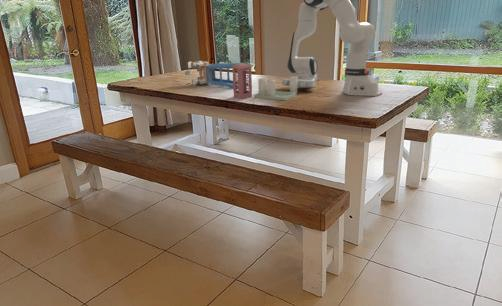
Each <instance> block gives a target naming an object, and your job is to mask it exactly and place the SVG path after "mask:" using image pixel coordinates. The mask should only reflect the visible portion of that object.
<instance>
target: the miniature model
mask: <svg viewBox="0 0 502 306" xmlns="http://www.w3.org/2000/svg"><path fill="white" fill-rule="evenodd" d="M239 63H240V64H235V65H233V66H232V67H231V68H232V81H233V88H232V89H233V97H234V98H237V99H239V100H243V99H249V98H253V84H252V68H253V67H252V65H250V64H249V63H248V64H244V63H245V62H239ZM237 82H238V85H237ZM247 84H249V85H247ZM237 87H238V89H237Z"/></svg>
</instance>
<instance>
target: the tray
mask: <svg viewBox="0 0 502 306" xmlns="http://www.w3.org/2000/svg"><path fill="white" fill-rule="evenodd" d="M294 97H297V93H295V92H290V91H279V90H275V96H265V95H259V92H257V93H256V94H253V98H254V99H266V100H278V101H288V100H290V99H292V98H294Z"/></svg>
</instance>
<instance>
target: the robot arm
mask: <svg viewBox="0 0 502 306" xmlns="http://www.w3.org/2000/svg"><path fill="white" fill-rule="evenodd" d="M328 8H329V9H330V10H331V12H332V14H333V15H334V18H336V20H337V23H338V25H339V29H340V31H339V38H340V40H341V41H342V43H344V44H349V45H350V48H349V49H348V51H347V53H346V61H345V64H346V65H345V67H344V69H345V70H344V84H343V87H342V88H343V89H342V91H341V92H342V94H347V96H364V97H365V96H366V97H367V96H369V97H376V96H380V95H382V94H383V90H382V89H379V84H378V81H377V80H376V79H375V78H373V77H372V76H371V75H370V69H369V68H367V56H368V50H369V47H370V43H371V41H372V39H373V38H374V36H375V33H376V29H375V26H374V25H373V24H372V23H369V22H367V21H363V22H360V21H358V20H357V19H358V18H357V16H356V12H357V11H356V8H355V7H354V4H353V3H352V2H351V0H303V2H302V3H301V4H300V6H299V8H298V9H299V10H298V20H297V21H298V22H297V23H298V24H297V28H296V29H295V30H294V32H293V33H292V37H291V44H290V51H289V58H288V60H287V69H288V71H289V72H290V73H291V74H297V73H300V74H297V75H296V76H297V77H298V82H297V88H298V89H306V88H314V87H315V88H316V81H317V80H318V73H317V72H318V61H317V60H316V59H315V58H314V56H298V53H299V47H300V43H301V41H303V40H304V39H306V38H308V37H311V36H312V35H313V34H314V33H315V32H316V30H317V20H318V19H317V14H318V11H323V10H325V9H328ZM281 85H282V86H286V87H287V86H289V87H290V77H287V78H286V77H285V78H283V79H281Z"/></svg>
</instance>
